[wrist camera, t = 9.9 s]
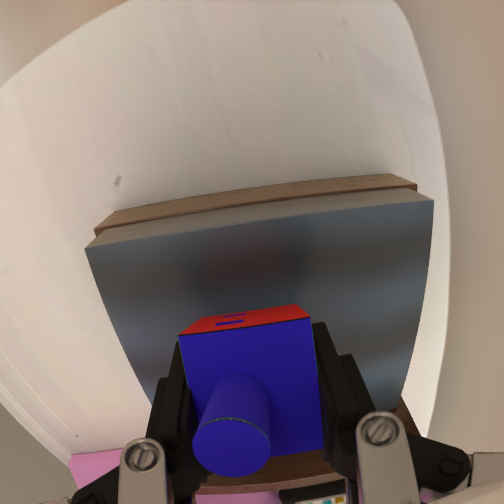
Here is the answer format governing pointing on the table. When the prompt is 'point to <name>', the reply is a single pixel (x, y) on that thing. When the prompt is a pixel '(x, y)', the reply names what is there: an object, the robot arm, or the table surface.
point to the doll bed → (274, 283)
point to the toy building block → (252, 387)
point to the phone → (316, 494)
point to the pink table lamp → (100, 463)
